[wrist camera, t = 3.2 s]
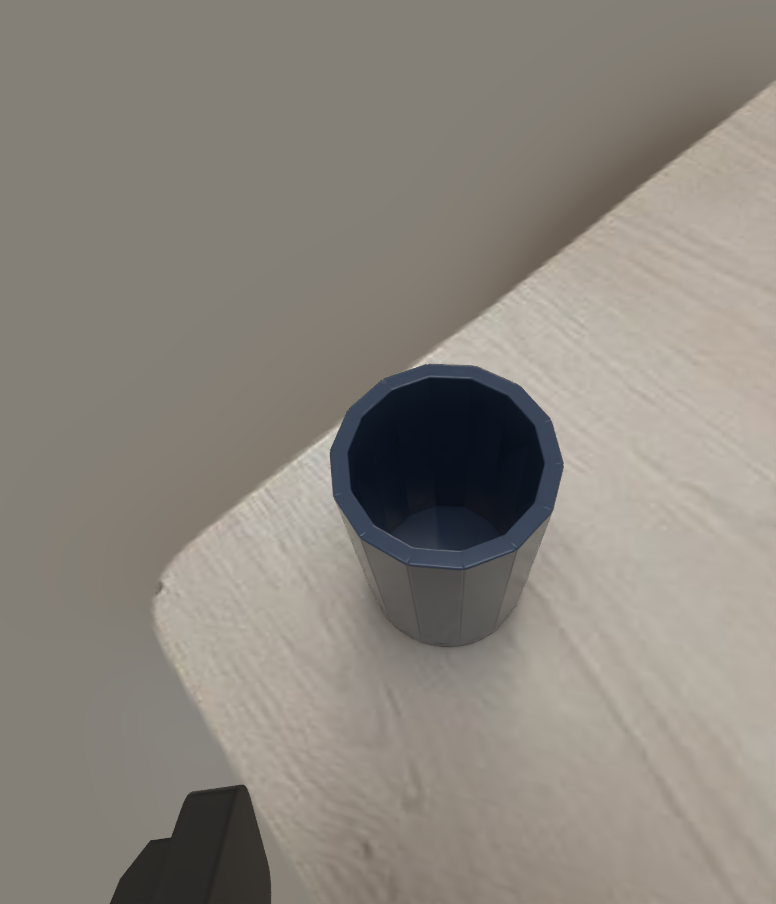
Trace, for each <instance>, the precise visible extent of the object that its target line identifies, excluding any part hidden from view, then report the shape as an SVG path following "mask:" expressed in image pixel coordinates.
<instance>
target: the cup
mask: <svg viewBox="0 0 776 904" xmlns="http://www.w3.org/2000/svg"><path fill="white" fill-rule="evenodd" d="M330 451H331V452H330V463H331V476H332V488H333V497H334V500H335V502H336V505H337V507H338V510H339V512H340V515H341V517H342V519H343V522H344V524H345V527H346V529H347V532H348V534H349V537H350V539H351V542H352V544H353V547H354V549H355V552H356V554H357V557H358V559H359V562H360V564H361V567H362V569H363V572H364V574H365V576H366V579H367V581H368V584H369V586H370V589H371V591H372V594H373V595H374V597H375V599H376V600H377V602H378V604H379V606H380V607H381V609H382V611H383V613H384V614H385V615H386V617H387V618H388V619H389V621H390V622H391V623H392V624H393V625H394V626H395V627H396V628H398V629H399V630H400V631H401V632H403V633H404V634H406V635H408V636H409V637H411V638H413V639H415V640H417V641H419V642H422V643H425V644H429V645H433V646H440V647H456V646H463V645H467V644H471V643H474V642H476V641H479V640H481V639H483V638H485V637H486V636H488V635H490V634H491V633H493V632H494V631H495V630H496V629H498V628H499V627H500V626H501V625H502V624H503V623H504V622H505V621H506V619H507V618H508V617H509V615H510V614H511V612H512V611H513V609H514V608H515V607H516V606H517V604H518V601H519V599H520V596H521V594H522V591H523V588H524V586H525V583H526V580H527V578H528V575H529V573H530V570H531V567H532V565H533V562H534V559H535V557H536V554H537V552H538V549H539V546H540V544H541V541H542V538H543V536H544V533H545V531H546V528H547V525H548V523H549V520H550V517H551V515H552V512H553V509H554V505H555V501H556V497H557V493H558V489H559V485H560V480H561V476H562V472H563V468H564V466H563V464H564V463H563V459H562V455H561V452H560V448H559V445H558V441H557V438H556V434H555V431H554V427H553V424H552V421H551V419H550V418H549V416H548V415H547V414H546V413H545V412H544V411H543V410H542V409H541V408H540V407H539V406H538V404H537V403H536V402H535V401H534V400H533V399H532V398H531V397H530V396H529V395H528V394H527V393H526V391H525V390H524V389H523V388H522V387H521V386H519V385H518V384H516V383H514V382H512V381H509V380H507V379H505V378H503V377H500V376H498V375H496V374H493V373H491V372H489V371H487V370H484V369H482V368H480V367H477V366H476V367H475V366H472V365H446V364H428V365H427V364H425V365H422V366H419V367H416V368H413V369H410V370H408V371H405V372H402V373H399V374H396V375H393V376H390V377H387V378H384V379H383V380H381V381H380V382H379V383H378V384H376V385H375V386H374V387H373V388H372V389H371V390H370V391H369V392H367V393H366V394H365V395H364V396H363V397H362V398H360V399H359V400H358V401H357V402H356V403H355V404H354V405H352V406H351V407H350V408H349V410H348V411H347V413H346V415H345V417H344V419H343V422H342V424H341V426H340V429H339V431H338V433H337V436H336V438H335V440H334V442H333V445H332V447H331V449H330Z"/></svg>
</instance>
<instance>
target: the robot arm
mask: <svg viewBox="0 0 776 904" xmlns="http://www.w3.org/2000/svg"><path fill="white" fill-rule="evenodd" d="M110 904H271V880H270V871H269V866H268V861H267V857H266V854H265V850H264V846H263V843H262V839H261V835H260V831H259V828H258V824H257V820H256V817H255V813H254V809H253V806H252V802H251V798H250V795H249V792H248V790H247V788H246V786H245V785H236V786H229V787H222V788H216V789H208V790H201V791H194V792H191V793H189V794H188V795H187V797H186V799H185V801H184V803H183V806H182V808H181V811H180V814H179V817H178V820H177V822H176V825H175V828H174V831H173V834H172V837H171V838H165V839H158V840H151V841H150V842H149V843H148V844H147V845H146V847H145V848H144V849H143V851H142V852H141V853H140V854H139V856H138V857H137V858H136V860H135V861H134V862H133V863H132V865H131V866H130V867H129V868H128V870H127V871H126V872H125V874H124V875H123V876H122V877H121V879H120V881H119V883H118V886H117V888H116V890H115V893H114V895H113V897H112V900H111V902H110Z"/></svg>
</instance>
